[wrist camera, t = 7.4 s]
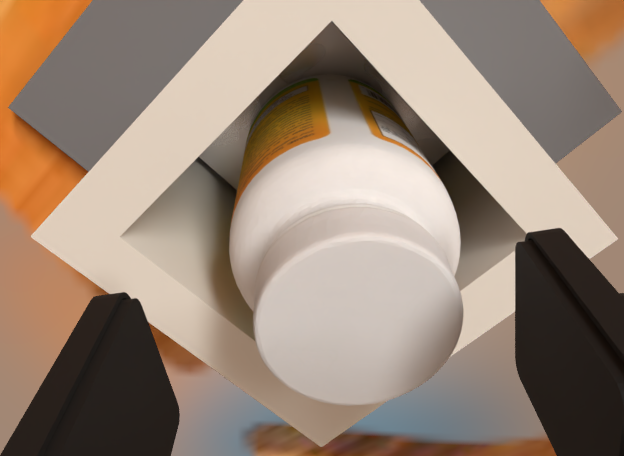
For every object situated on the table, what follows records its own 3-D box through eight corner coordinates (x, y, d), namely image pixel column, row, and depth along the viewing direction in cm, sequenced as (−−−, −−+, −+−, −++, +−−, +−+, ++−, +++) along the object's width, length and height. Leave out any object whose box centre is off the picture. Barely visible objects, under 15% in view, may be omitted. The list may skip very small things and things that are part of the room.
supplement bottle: (245, 220, 20) (215, 433, 12) (246, 66, 18) (209, 192, 9) (395, 226, 21) (473, 436, 12) (416, 75, 18) (533, 204, 10)
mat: (610, 105, 25) (622, 111, 24) (313, 339, 30) (313, 351, 30) (322, -281, 19) (323, -292, 18) (18, 101, 24) (8, 107, 24)
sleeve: (487, 110, 24) (618, 238, 14) (315, 257, 27) (321, 446, 17) (320, -85, 20) (334, -102, 10) (146, 108, 24) (30, 236, 14)
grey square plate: (443, 141, 20) (449, 150, 19) (317, 248, 22) (318, 261, 21) (322, 8, 18) (322, 12, 17) (195, 139, 20) (190, 148, 19)
